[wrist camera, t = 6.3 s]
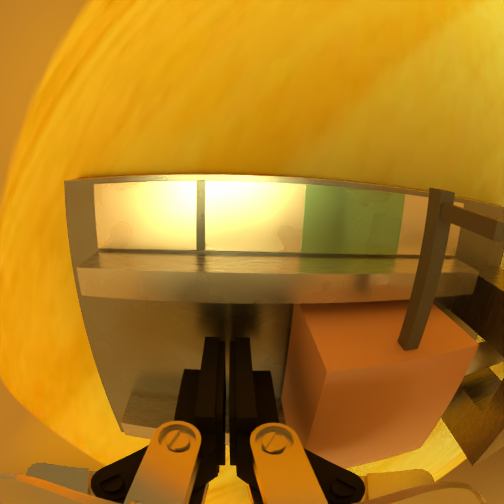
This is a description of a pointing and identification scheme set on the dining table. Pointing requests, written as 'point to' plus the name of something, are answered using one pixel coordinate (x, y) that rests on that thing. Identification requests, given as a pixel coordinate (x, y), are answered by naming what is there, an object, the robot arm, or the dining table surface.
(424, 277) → the plunger
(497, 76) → the dining table surface
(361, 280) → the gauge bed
